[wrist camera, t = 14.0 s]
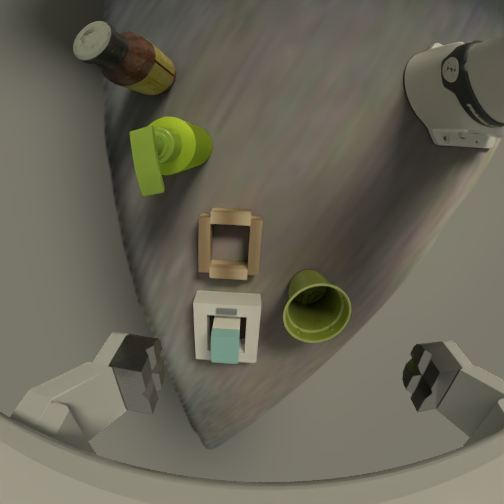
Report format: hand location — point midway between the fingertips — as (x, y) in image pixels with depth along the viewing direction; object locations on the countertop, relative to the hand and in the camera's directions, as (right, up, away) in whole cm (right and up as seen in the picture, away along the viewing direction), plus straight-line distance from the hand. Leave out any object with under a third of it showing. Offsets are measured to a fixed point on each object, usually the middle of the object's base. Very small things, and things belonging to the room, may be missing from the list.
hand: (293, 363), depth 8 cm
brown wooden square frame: (-4, +5, +35) cm, 36 cm away
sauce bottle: (-15, +28, +27) cm, 42 cm away
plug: (-5, -8, +40) cm, 41 cm away
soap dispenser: (-10, +18, +31) cm, 37 cm away
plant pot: (+7, -2, +38) cm, 39 cm away
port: (-5, -8, +40) cm, 41 cm away
